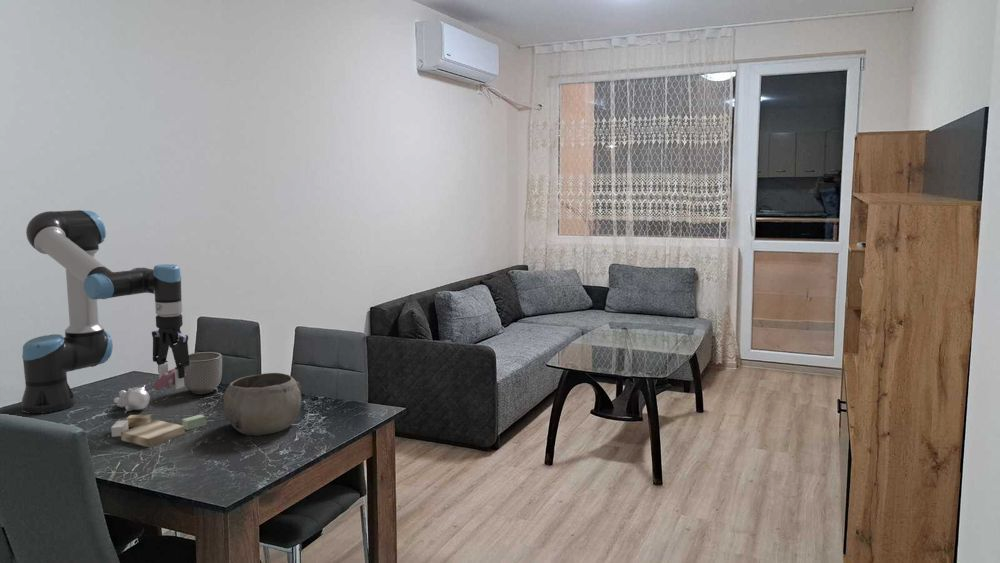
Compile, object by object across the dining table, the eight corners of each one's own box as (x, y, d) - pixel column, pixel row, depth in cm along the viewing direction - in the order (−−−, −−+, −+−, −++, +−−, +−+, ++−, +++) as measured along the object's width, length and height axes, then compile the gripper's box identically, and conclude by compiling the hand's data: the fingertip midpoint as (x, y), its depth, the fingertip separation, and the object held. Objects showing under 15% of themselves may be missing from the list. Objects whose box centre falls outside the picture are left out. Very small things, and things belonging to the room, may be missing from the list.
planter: (214, 397, 247) (212, 361, 245) (174, 397, 247) (172, 361, 246) (229, 386, 261) (228, 352, 259) (192, 385, 261) (190, 351, 259)
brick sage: (187, 430, 215) (187, 421, 215) (182, 428, 217) (181, 419, 217) (206, 425, 220) (205, 416, 220) (200, 423, 222) (200, 414, 221)
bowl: (281, 409, 235) (279, 365, 233) (316, 427, 219) (315, 380, 217) (212, 426, 219) (209, 379, 217) (245, 446, 203) (242, 395, 201)
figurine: (122, 379, 240) (143, 379, 231) (140, 391, 244) (161, 391, 235) (102, 406, 235) (122, 407, 225) (121, 418, 239) (141, 419, 229)
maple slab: (121, 440, 206) (120, 432, 206) (157, 427, 217) (156, 419, 217) (149, 447, 201) (148, 438, 201) (184, 434, 212) (184, 426, 211)
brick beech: (126, 427, 218) (126, 418, 217) (131, 424, 220) (130, 415, 220) (147, 427, 218) (146, 417, 218) (151, 423, 221) (150, 414, 221)
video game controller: (162, 396, 219) (169, 377, 217) (150, 388, 219) (158, 369, 218) (184, 387, 228) (191, 369, 226) (173, 380, 229) (180, 362, 227)
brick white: (117, 430, 215) (117, 420, 215) (128, 429, 216) (127, 420, 215) (111, 437, 209) (111, 427, 209) (123, 436, 210) (122, 426, 210)
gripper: (137, 312, 221) (140, 384, 225) (180, 320, 213) (183, 394, 216) (158, 309, 228) (161, 378, 231) (201, 315, 219) (203, 387, 223)
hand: (172, 385), depth 224 cm, fingers closed on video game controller, 6 cm apart
